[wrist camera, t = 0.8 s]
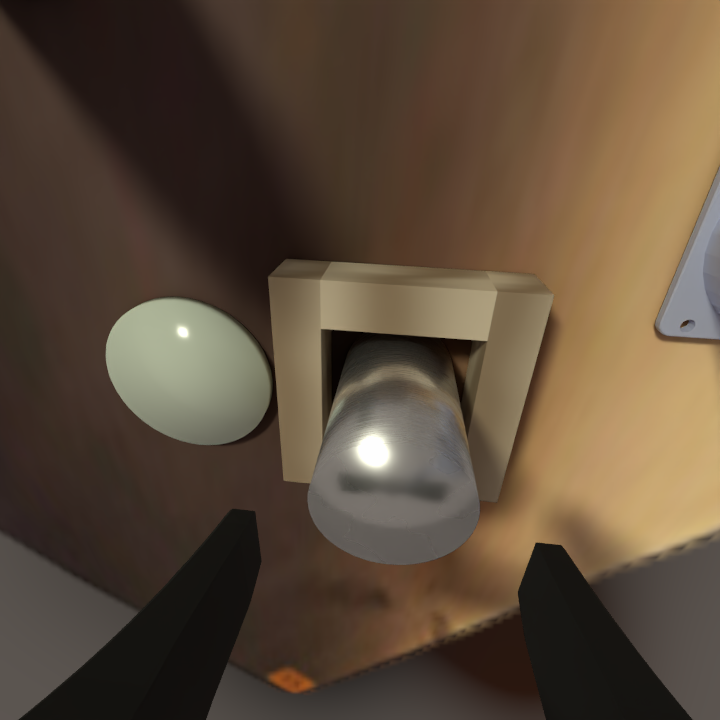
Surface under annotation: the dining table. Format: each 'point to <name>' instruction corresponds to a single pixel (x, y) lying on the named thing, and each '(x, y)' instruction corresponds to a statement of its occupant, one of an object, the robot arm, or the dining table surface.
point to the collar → (406, 317)
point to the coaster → (189, 370)
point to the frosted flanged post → (395, 455)
